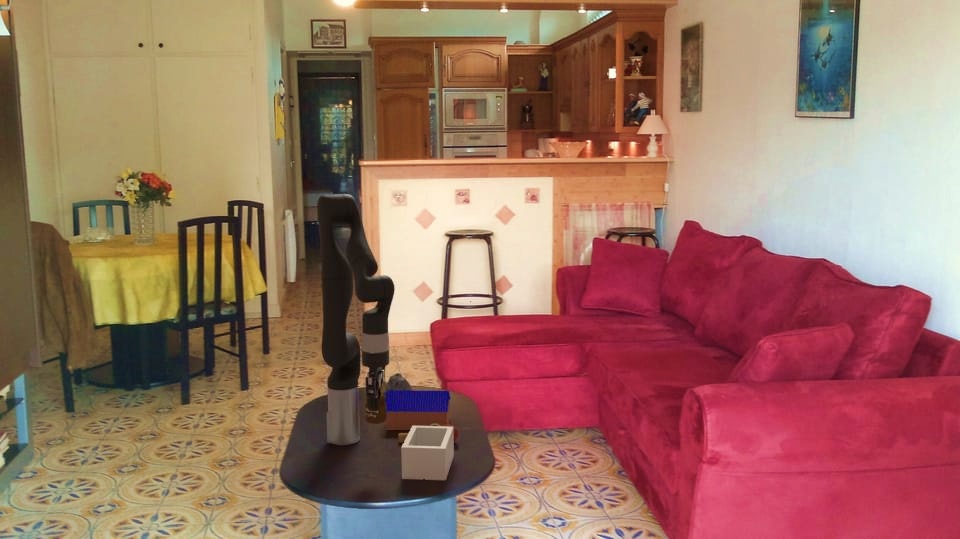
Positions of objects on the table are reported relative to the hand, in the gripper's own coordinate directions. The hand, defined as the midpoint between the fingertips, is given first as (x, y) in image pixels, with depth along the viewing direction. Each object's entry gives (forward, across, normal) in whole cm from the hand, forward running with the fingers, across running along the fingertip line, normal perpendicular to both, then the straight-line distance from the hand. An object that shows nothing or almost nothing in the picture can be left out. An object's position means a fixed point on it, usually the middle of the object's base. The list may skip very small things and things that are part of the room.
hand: (376, 406), depth 232 cm
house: (+18, -36, +6) cm, 40 cm away
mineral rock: (+19, -60, -6) cm, 63 cm away
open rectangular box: (+18, -2, +15) cm, 23 cm away
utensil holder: (+4, 0, 0) cm, 4 cm away
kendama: (+18, -20, +11) cm, 29 cm away
